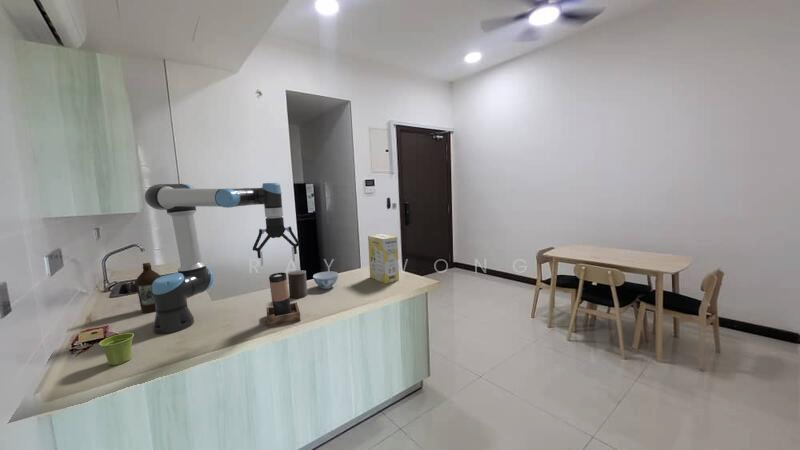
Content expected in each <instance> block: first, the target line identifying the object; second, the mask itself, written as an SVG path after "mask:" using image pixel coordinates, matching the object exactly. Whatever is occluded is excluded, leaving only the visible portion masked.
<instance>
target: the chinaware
mask: <svg viewBox="0 0 800 450" xmlns="http://www.w3.org/2000/svg"><path fill="white" fill-rule="evenodd" d="M338 277H339V273H338V272H336V271H332V270H331V271H330V270H329V271H321V272H317V273H314V274H313V276H312V278H313V281H314V283H315V284H316V285H317V286H319V287H320V288H321V289H323V290H327V289H330V288H332V287H333V285H334V284H336V283H337V281H338Z"/></svg>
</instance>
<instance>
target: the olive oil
mask: <svg viewBox="0 0 800 450" xmlns="http://www.w3.org/2000/svg"><path fill="white" fill-rule="evenodd" d="M142 270H143V271H142V272H141V273H140V274H139V276H137V278H136V280H135V286H136V290H137V291H136V292H137V296H138V300H139V305H140V310H141V313H143V314H149V313H154V312H155V313H156V309H155V302H154V296H153V292H152V289H153V287H152V284H153V282H154V281H155V280H156V279H157V278H159V277H162V276H161V275H160V274H159V273H158V272H156V271H154V270H153V268H152V265H151V262H143V263H142Z"/></svg>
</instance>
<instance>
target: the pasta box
mask: <svg viewBox="0 0 800 450" xmlns="http://www.w3.org/2000/svg"><path fill="white" fill-rule="evenodd" d="M367 243H368V264H369V266H368V267H369V277H370V279H373V280H375V281H377V282H381V283H382V284H383V283H384V284H385V285H386V284H389V283H393V282H397V281H399V280H400V273H399V268H400V267H399V251H398V250H399V247H398V246H399V244H398V243H399V242H398V236H396V235H388V234H385V233H378V234H372V235H371V234H370V235H367Z"/></svg>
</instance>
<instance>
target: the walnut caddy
mask: <svg viewBox="0 0 800 450" xmlns="http://www.w3.org/2000/svg"><path fill="white" fill-rule="evenodd" d="M290 308H291V313H290V314H284V315H279V316H275V314H274V309H273V306H269V307H266V324H267V328H271V327H275V326H276V327H277V326H281V325H286V324H292V323H296V322H301V312H300V307H299V305H298V302H293V303H291V302H290Z"/></svg>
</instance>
